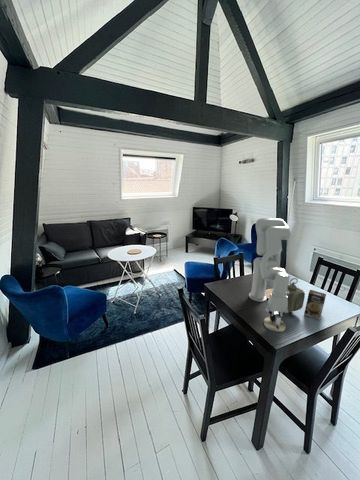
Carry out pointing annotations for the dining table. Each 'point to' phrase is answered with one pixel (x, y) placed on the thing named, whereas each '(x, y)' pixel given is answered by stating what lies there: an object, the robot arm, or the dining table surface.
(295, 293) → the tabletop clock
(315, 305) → the coffee box
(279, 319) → the dial knob
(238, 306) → the dining table surface
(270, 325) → the dial base
